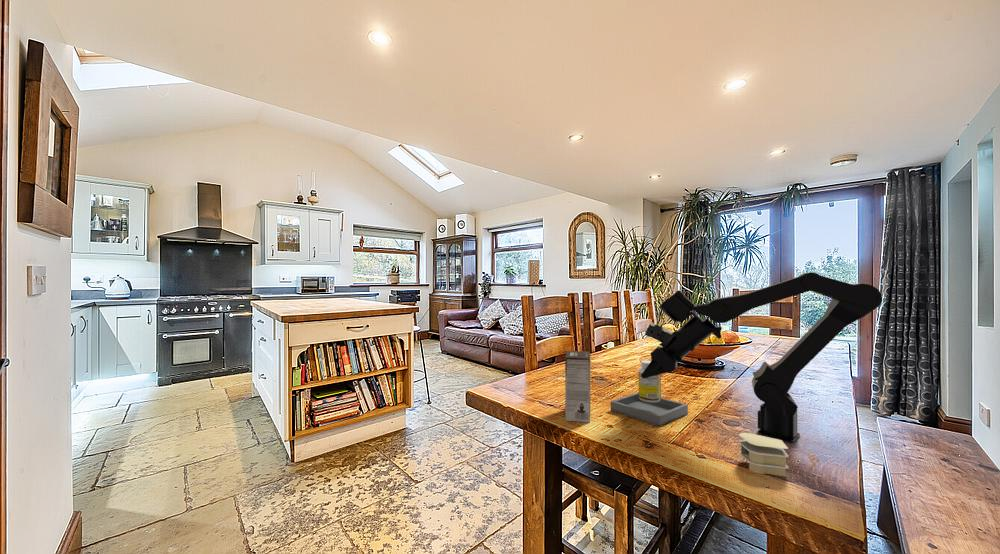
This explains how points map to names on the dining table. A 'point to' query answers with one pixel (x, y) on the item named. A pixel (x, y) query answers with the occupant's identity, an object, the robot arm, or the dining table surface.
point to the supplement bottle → (649, 385)
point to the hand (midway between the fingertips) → (644, 374)
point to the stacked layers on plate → (764, 454)
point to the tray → (649, 409)
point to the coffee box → (577, 386)
